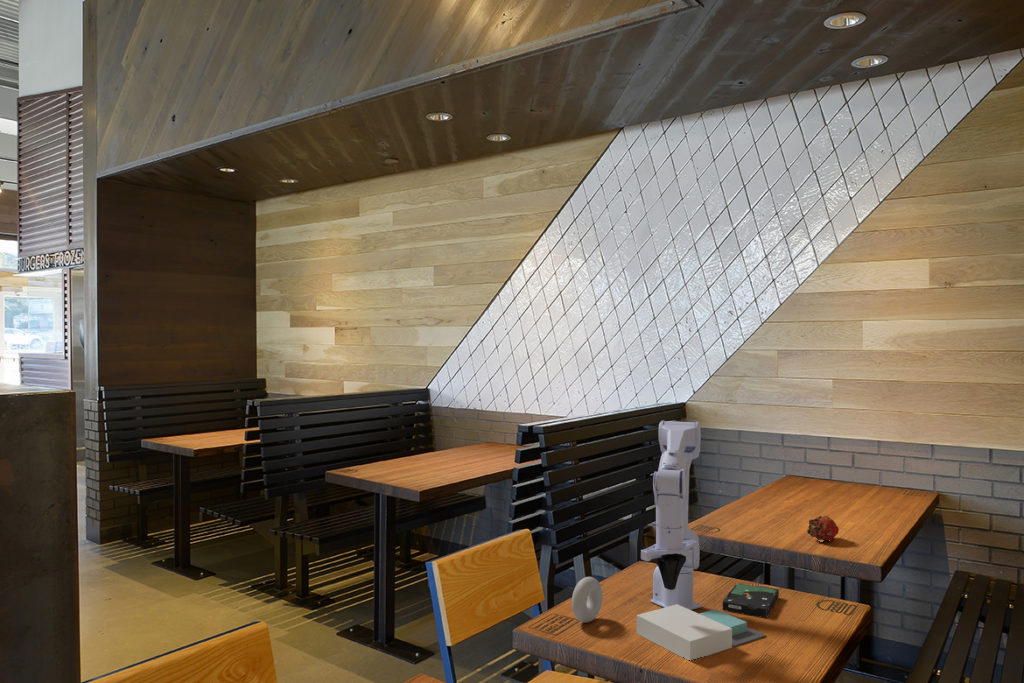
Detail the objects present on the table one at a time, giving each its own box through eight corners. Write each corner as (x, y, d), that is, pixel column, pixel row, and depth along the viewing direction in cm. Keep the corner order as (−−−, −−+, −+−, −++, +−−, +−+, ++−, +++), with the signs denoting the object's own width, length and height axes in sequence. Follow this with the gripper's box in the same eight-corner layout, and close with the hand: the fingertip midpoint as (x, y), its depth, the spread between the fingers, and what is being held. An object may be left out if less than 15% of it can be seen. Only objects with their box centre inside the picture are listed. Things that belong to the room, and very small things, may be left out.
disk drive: (768, 621, 168) (779, 599, 181) (768, 609, 168) (779, 588, 181) (722, 612, 173) (736, 592, 186) (722, 601, 173) (736, 581, 186)
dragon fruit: (814, 550, 225) (825, 547, 234) (838, 537, 221) (849, 534, 230) (798, 525, 229) (810, 522, 238) (822, 511, 225) (833, 510, 234)
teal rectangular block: (715, 609, 168) (715, 617, 168) (696, 614, 165) (696, 623, 165) (746, 622, 160) (746, 631, 160) (727, 628, 157) (727, 637, 157)
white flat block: (636, 633, 160) (636, 615, 160) (677, 621, 166) (677, 604, 166) (690, 661, 147) (689, 641, 146) (732, 647, 153) (732, 628, 153)
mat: (678, 621, 167) (678, 620, 167) (710, 612, 172) (710, 611, 172) (733, 647, 153) (733, 645, 153) (766, 636, 158) (766, 635, 158)
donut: (593, 613, 172) (593, 570, 172) (605, 616, 170) (605, 573, 170) (568, 626, 164) (568, 581, 164) (581, 630, 162) (581, 585, 162)
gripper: (657, 534, 151) (657, 600, 151) (707, 524, 159) (707, 587, 159) (634, 527, 157) (634, 590, 157) (684, 517, 165) (684, 578, 165)
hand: (669, 588), depth 158 cm, fingers closed
